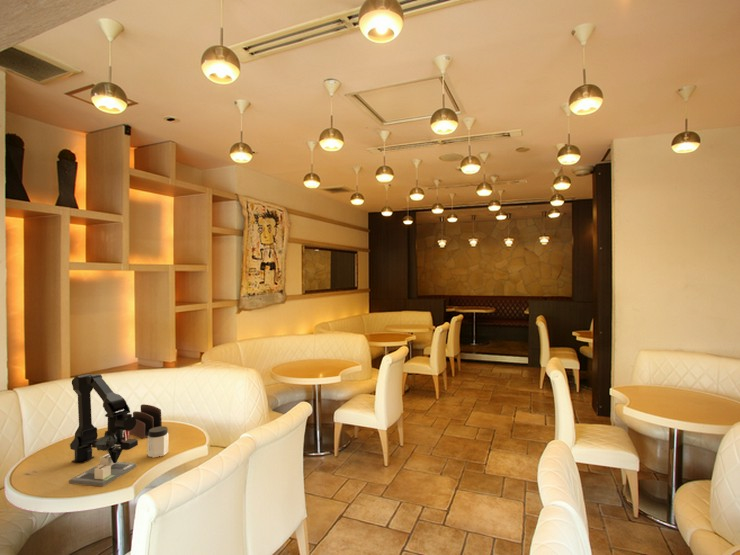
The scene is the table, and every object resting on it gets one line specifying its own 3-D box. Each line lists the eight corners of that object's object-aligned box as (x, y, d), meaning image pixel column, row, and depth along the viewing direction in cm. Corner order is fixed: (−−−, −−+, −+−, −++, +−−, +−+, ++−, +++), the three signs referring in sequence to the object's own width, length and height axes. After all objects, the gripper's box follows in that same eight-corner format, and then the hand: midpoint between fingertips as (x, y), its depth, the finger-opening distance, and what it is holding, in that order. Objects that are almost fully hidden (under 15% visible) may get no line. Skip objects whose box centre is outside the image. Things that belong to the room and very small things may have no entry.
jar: (144, 455, 192) (144, 430, 193) (160, 449, 199) (160, 425, 200) (155, 459, 188) (155, 433, 188) (171, 452, 195) (171, 428, 195)
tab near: (94, 478, 165) (94, 468, 165) (102, 474, 169) (102, 464, 169) (102, 479, 165) (102, 469, 165) (110, 475, 168) (110, 464, 169)
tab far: (100, 466, 176) (100, 456, 176) (107, 462, 180) (107, 453, 180) (107, 467, 176) (108, 457, 176) (115, 463, 180) (115, 453, 180)
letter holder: (141, 426, 232) (142, 402, 232) (162, 433, 222) (162, 407, 222) (124, 432, 224) (124, 407, 224) (144, 439, 213) (144, 412, 214)
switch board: (69, 483, 165) (69, 479, 165) (105, 464, 183) (105, 460, 183) (102, 486, 162) (102, 482, 162) (136, 466, 180) (136, 463, 180)
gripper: (81, 432, 171) (80, 469, 171) (119, 435, 168) (118, 472, 168) (102, 423, 182) (102, 458, 182) (138, 425, 179) (138, 461, 179)
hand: (114, 462), depth 177 cm, fingers closed
